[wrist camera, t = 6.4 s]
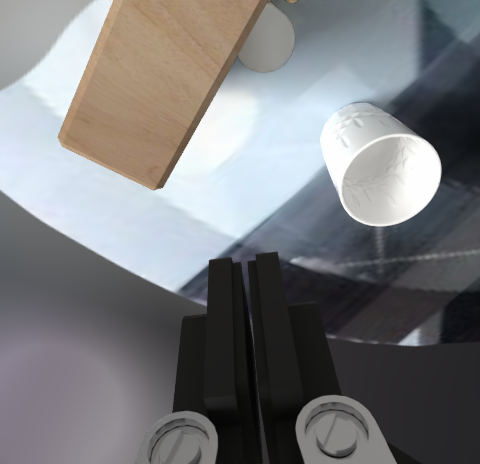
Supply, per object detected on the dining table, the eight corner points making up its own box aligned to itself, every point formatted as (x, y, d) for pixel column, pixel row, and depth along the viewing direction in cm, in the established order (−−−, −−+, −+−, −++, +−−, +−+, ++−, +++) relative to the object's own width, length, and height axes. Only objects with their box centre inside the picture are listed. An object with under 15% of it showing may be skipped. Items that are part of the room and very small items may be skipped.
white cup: (378, 179, 46) (417, 232, 37) (304, 168, 45) (326, 219, 36) (408, 103, 42) (459, 143, 33) (327, 88, 41) (358, 125, 32)
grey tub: (280, -6, 36) (292, 1, 31) (285, 51, 39) (297, 67, 34) (226, 3, 36) (229, 12, 31) (235, 60, 39) (239, 77, 34)
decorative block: (182, -78, 33) (155, -104, 16) (247, -31, 35) (282, -11, 18) (119, 56, 38) (48, 143, 21) (179, 92, 40) (157, 198, 23)
